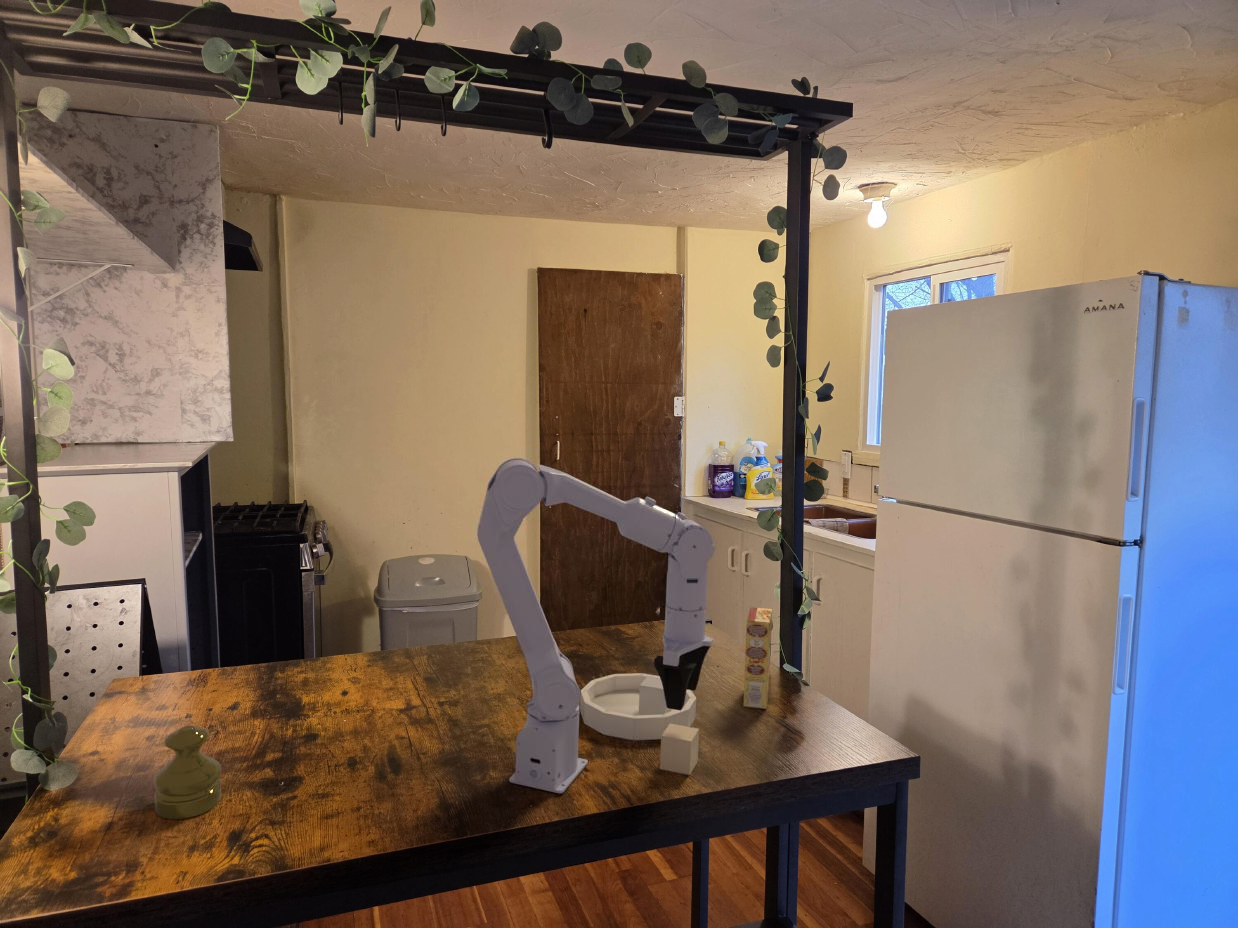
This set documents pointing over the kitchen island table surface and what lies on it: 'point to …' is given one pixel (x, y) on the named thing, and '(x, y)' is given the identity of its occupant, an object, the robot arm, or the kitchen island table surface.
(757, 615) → the candy box
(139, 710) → the kitchen island table surface
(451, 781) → the kitchen island table surface
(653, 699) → the matte stone cube
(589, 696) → the bowl
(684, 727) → the cream rectangular block
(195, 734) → the olive green knobbed piece
